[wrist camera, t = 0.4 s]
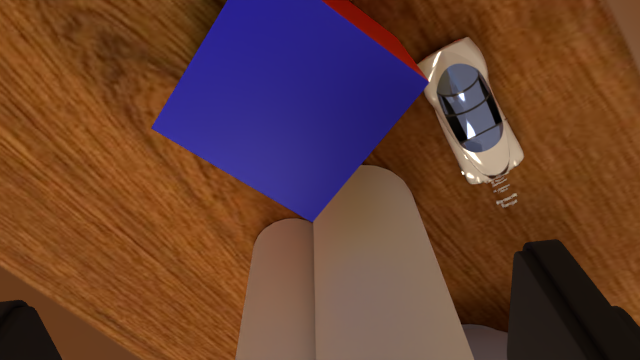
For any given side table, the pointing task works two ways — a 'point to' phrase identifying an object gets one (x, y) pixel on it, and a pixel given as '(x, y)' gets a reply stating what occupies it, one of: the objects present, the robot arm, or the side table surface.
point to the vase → (351, 283)
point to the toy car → (470, 112)
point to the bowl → (486, 342)
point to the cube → (291, 96)
